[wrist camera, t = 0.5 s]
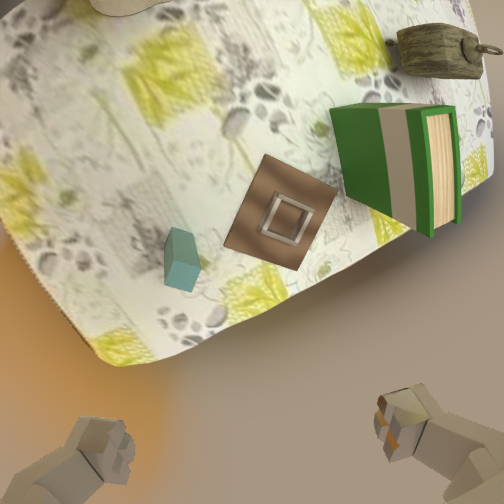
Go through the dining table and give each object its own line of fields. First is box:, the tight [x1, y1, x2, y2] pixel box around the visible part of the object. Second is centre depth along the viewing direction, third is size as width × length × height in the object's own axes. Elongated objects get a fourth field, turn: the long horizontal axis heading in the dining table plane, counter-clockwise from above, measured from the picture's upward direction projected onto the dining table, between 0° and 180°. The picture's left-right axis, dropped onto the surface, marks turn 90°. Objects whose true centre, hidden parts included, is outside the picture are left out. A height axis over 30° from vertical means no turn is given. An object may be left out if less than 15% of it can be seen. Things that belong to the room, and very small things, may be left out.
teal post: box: [164, 227, 201, 292], centre depth 48 cm, size 4×4×14 cm
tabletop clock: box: [386, 23, 503, 79], centre depth 39 cm, size 14×9×25 cm, turn 98°
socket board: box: [224, 154, 338, 271], centre depth 56 cm, size 18×16×4 cm
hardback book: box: [330, 103, 461, 238], centre depth 45 cm, size 18×7×24 cm, turn 16°
